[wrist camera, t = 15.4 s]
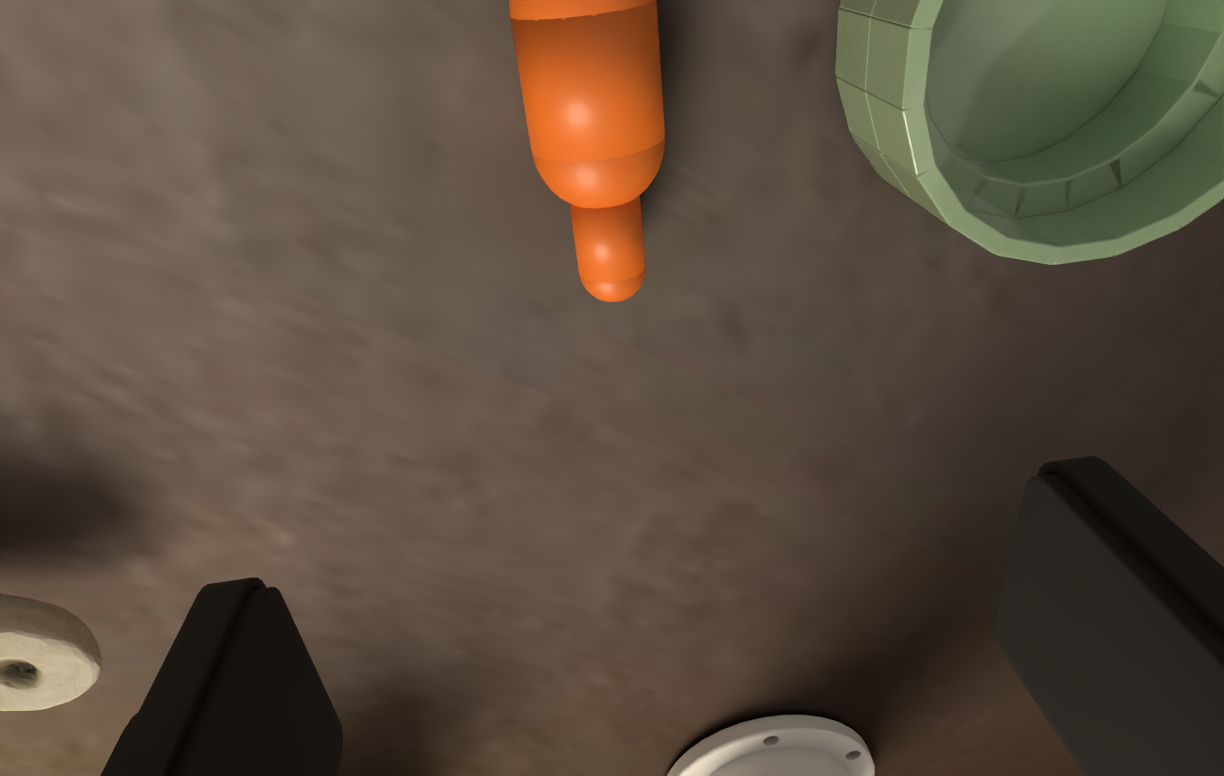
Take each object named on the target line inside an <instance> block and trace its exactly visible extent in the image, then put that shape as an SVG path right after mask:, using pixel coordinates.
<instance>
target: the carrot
mask: <svg viewBox="0 0 1224 776" xmlns="http://www.w3.org/2000/svg"><path fill="white" fill-rule="evenodd" d="M509 9H510V20H511V26H512V32H513V39H514V45H515V51H516V57H517V64H518V70H519V76H520V82H521V88H522V95H523V101H524V107H525V113H526V120H527V126H528V132H529V138H530V144H531V151H532V155H533V158H534V162H535V165H536V167H537V169H538V172H539V174H540V176H541V177H542V179H543V180H544V181H545V183H546V184H547V185H548V187H549V188H550V189H551V190H552V191H553V192H554V193H555V194H556V195H558V196H559V197H560V198H561V199H563V200H565V201H567V202H568V203H569V204H570V211H571V218H572V226H573V233H574V240H575V247H576V254H577V262H578V269H579V275H580V279H581V281H582V283H583V285H584V287H585V288H586V289H587V291H588V292H589V293H590V294H592V295H593V296H594V297H596V298H598V299H600V300H603V301H607V302H618V301H622V300H625V299H627V298H629V297H631V296H632V295H633V294H634V293H636V292H637V290H638V289H639V288H640V286H641V285H642V283H643V281H644V277H645V273H646V261H645V249H644V238H643V226H642V215H641V203H640V194H641V193H642V192H643V191H645V190H646V189H647V187H648V186H649V185H650V183H651V182H652V181H653V179H654V178H655V176H656V174H657V172H658V170H659V168H660V165H661V162H662V158H663V153H664V149H665V125H664V110H663V94H662V79H661V64H660V48H659V33H658V18H657V2H656V0H509Z"/></svg>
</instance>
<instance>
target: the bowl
mask: <svg viewBox="0 0 1224 776" xmlns="http://www.w3.org/2000/svg"><path fill="white" fill-rule="evenodd" d="M839 7H840V8H839V10H838V29H837V49H836V69H835V75H836V76H837V77H836V81H837V85H838V88H839V92H840V96H841V100H842V104H843V108H844V112H845V115H846V119H847V123H848V127H849V131H850V132H851V136H852V137H853V139H854V140H855V142H856V143H857V145H858V146H859V147H860V149H861V150H862V152H863V153H864V154H865V156H866V157H867V159H868V160H869V162H870V163H871V164H872V166H873V167H874V169H875V170H876V172H877V173H878V174H879V176H881V177H882V178H883V179H884V180H886V181H887V182H888V183H890V184H891V185H893V186H894V187H895V188H897V189H898V190H900V191H901V192H902V193H904V194H905V195H907V196H908V197H909V198H911V199H912V200H914V201H915V202H916V203H918V204H919V205H921V206H922V207H923V208H925V209H926V210H928V211H929V212H930V213H932V214H933V215H935V216H936V217H937V218H939V219H940V220H942V221H943V222H944V223H946V224H947V225H949V226H950V227H952V228H953V229H955V230H956V231H958V232H960V233H961V234H963V235H964V236H966V237H967V238H969V239H971V240H972V241H974V242H975V243H977V244H979V245H980V246H982V247H983V248H985V249H986V250H988V251H990V252H991V253H993V254H996V255H998V256H1003V257H1009V258H1015V259H1020V260H1026V261H1032V262H1037V263H1043V264H1049V265H1052V264H1053V265H1057V264H1064V263H1071V262H1078V261H1085V260H1092V259H1099V258H1106V257H1112V256H1115V255H1119V254H1122V253H1124V252H1127V251H1129V250H1131V249H1134V248H1136V247H1138V246H1141V245H1143V244H1146V243H1148V242H1150V241H1153V240H1155V239H1157V238H1160V237H1162V236H1165V235H1167V234H1169V233H1172V232H1174V231H1176V230H1179V229H1180V228H1181V227H1184V226H1185V225H1187V224H1188V223H1190V222H1191V221H1193V220H1194V219H1195V218H1197V217H1198V216H1200V215H1201V214H1203V213H1204V212H1205V211H1207V210H1208V209H1210V208H1211V207H1213V206H1214V205H1215V204H1217V203H1218V202H1220V201H1221V200H1223V199H1224V0H841V2H840V5H839Z"/></svg>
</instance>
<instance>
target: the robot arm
mask: <svg viewBox="0 0 1224 776" xmlns="http://www.w3.org/2000/svg"><path fill="white" fill-rule="evenodd" d="M994 629H995V636H996V640H997V642H998V645H999V647H1000V649H1001V651H1002V653H1003V654H1004V656H1005V657H1006V659H1007V660H1008V662H1009V663H1010V665H1011V666H1012V668H1013V669H1014V671H1015V672H1016V674H1017V675H1018V677H1019V678H1020V680H1021V681H1022V683H1023V684H1024V686H1025V687H1026V689H1027V690H1028V692H1029V693H1030V695H1031V696H1032V697H1033V699H1034V700H1035V702H1036V703H1037V705H1038V706H1039V708H1040V709H1041V711H1042V712H1043V714H1044V715H1045V717H1046V718H1047V720H1048V721H1049V723H1050V724H1051V726H1052V727H1053V729H1054V730H1055V732H1056V733H1057V735H1058V736H1059V738H1060V739H1061V741H1062V742H1063V744H1064V745H1065V747H1066V748H1067V750H1068V751H1069V753H1070V754H1071V755H1072V757H1073V758H1074V760H1075V761H1076V763H1077V764H1078V766H1079V767H1080V769H1081V770H1082V772H1083V773H1084V775H1085V776H1224V567H1223V566H1222V565H1221V564H1219V563H1218V562H1217V561H1216V560H1215V559H1214V558H1213V557H1212V556H1210V555H1209V554H1208V553H1207V552H1206V551H1205V550H1204V549H1203V548H1201V547H1200V546H1199V545H1198V544H1197V543H1196V542H1195V541H1194V540H1193V539H1191V538H1190V537H1189V536H1188V535H1187V534H1186V533H1185V532H1184V531H1182V530H1181V529H1180V528H1179V527H1178V526H1177V525H1176V524H1175V523H1174V522H1172V521H1171V520H1170V519H1169V518H1168V517H1167V516H1166V515H1165V514H1163V513H1162V512H1161V511H1160V510H1159V509H1158V508H1157V507H1156V506H1155V505H1153V504H1152V503H1151V502H1150V501H1149V500H1148V499H1147V498H1146V497H1144V496H1143V495H1142V494H1141V493H1140V492H1139V491H1138V490H1137V489H1136V488H1134V487H1133V486H1132V485H1131V484H1130V483H1129V482H1128V481H1127V480H1125V479H1124V478H1123V477H1122V476H1121V475H1120V474H1119V473H1118V472H1116V471H1115V470H1114V469H1113V468H1112V467H1111V466H1110V465H1109V464H1108V463H1106V462H1105V461H1103V460H1102V459H1100V458H1098V457H1094V456H1088V457H1082V458H1075V459H1068V460H1061V461H1054V462H1049V463H1045V464H1044V465H1043V466H1042V467H1041V468H1040V469H1039V472H1038V474H1037V476H1034V477H1031V478H1030V479H1029V481H1028V483H1027V486H1026V490H1025V494H1024V498H1023V503H1022V507H1021V511H1020V515H1019V520H1018V524H1017V528H1016V532H1015V537H1014V541H1013V545H1012V549H1011V554H1010V558H1009V562H1008V567H1007V571H1006V575H1005V579H1004V584H1003V588H1002V592H1001V596H1000V601H999V605H998V609H997V614H996V618H995V624H994ZM342 748H343V732H342V726H341V723H340V720H339V718H338V716H337V714H336V712H335V709H334V707H333V705H332V703H331V701H330V699H329V696H328V694H327V692H326V690H325V688H324V686H323V683H322V681H321V679H320V677H319V675H318V673H317V670H316V668H315V666H314V664H313V662H312V660H311V657H310V655H309V653H308V651H307V649H306V647H305V644H304V642H303V640H302V638H301V636H300V634H299V631H298V629H297V627H296V625H295V623H294V621H293V618H292V616H291V614H290V612H289V610H288V608H287V606H286V603H285V601H284V599H283V597H282V595H281V593H280V591H279V590H278V589H277V588H275V587H269V588H266V586H265V584H264V583H263V581H262V580H260V579H259V578H247V579H240V580H233V581H226V582H219V583H212V584H207V585H206V586H204V587H203V588H202V589H201V590H200V592H199V593H198V595H197V597H196V599H195V601H194V603H193V605H192V607H191V609H190V611H189V613H188V615H187V617H186V619H185V621H184V623H183V625H182V627H181V629H180V631H179V633H178V635H177V637H176V639H175V641H174V643H173V645H172V647H171V649H170V651H169V653H168V655H167V657H166V659H165V661H164V663H163V665H162V667H161V669H160V670H159V672H158V674H157V676H156V678H155V680H154V682H153V684H152V686H151V688H150V690H149V692H148V694H147V696H146V698H145V700H144V702H143V704H142V706H141V708H140V710H139V712H138V713H137V714H136V715H134V716H133V717H132V718H131V720H130V722H129V723H128V725H127V726H126V728H125V729H124V731H123V732H122V734H121V736H120V738H119V740H118V742H117V744H116V746H115V748H114V750H113V752H112V754H111V756H110V758H109V760H108V762H107V764H106V766H105V768H104V770H103V772H102V774H101V776H337V772H338V768H339V764H340V759H341V754H342ZM667 776H875V766H874V763H873V760H872V757H871V755H870V752H869V750H868V747H867V745H866V744H865V742H864V741H863V739H862V737H861V736H860V735H858V734H857V733H856V732H855V731H854V730H853V729H851V728H849V727H847V726H845V725H843V724H841V723H840V722H837V721H834V720H830V719H827V718H823V717H818V716H810V715H777V716H770V717H762V718H758V719H754V720H750V721H746V722H742V723H739V724H736V725H733V726H731V727H728V728H725V729H723V730H720V731H718V732H716V733H714V734H713V735H711V736H709V737H707V738H705V739H703V740H702V741H700V742H699V743H697V744H696V745H695V746H693V747H692V748H690V749H689V750H688V751H687V752H686V753H685V754H684V755H683V756H682V757H680V758H679V759H678V760H677V761H676V763H675V764H674V765H673V767H672V768H671V770H670V771H669V773H668V774H667Z"/></svg>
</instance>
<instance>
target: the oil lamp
mask: <svg viewBox="0 0 1224 776" xmlns="http://www.w3.org/2000/svg"><path fill="white" fill-rule="evenodd" d="M100 670H101V654H100V650H99V646H98V644H97V641H96V639H95V637H94V636H93V634H92V632H91V631H90V629H89V628H88V627H87V626H86V624H85V623H83V622H82V621H81V620H80V619H79V618H78V617H76V616H75V615H73V614H71V613H70V612H68V611H67V610H65V609H63V608H61V607H58V606H56V605H52V604H48V603H45V602H41V601H37V600H33V599H28V598H22V597H17V596H11V595H4V594H0V711H25V710H41V709H46V708H50V707H53V706H56V705H59V704H62V703H65V702H69V701H71V700H73V699H74V698H76V697H78V696H80V695H81V694H82V693H84V692H85V691H86V690H88V689H89V688H90V687H91V686H92V685H93V684H94V683H95V681H96V680H97V679H98V677H99V674H100Z"/></svg>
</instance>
